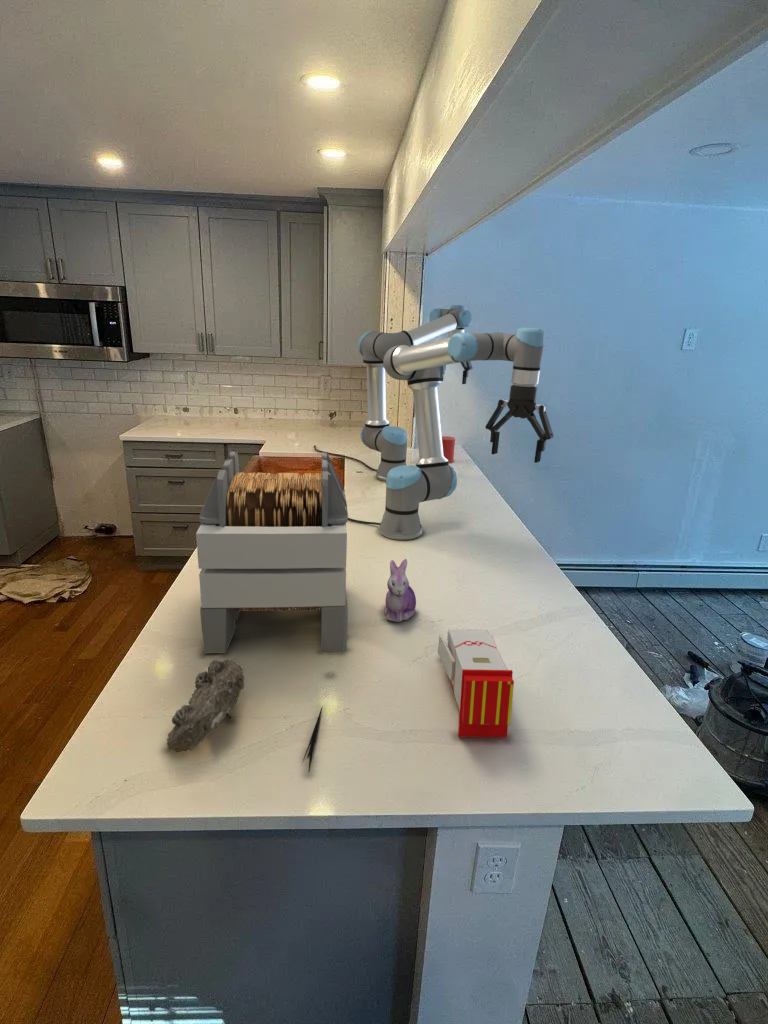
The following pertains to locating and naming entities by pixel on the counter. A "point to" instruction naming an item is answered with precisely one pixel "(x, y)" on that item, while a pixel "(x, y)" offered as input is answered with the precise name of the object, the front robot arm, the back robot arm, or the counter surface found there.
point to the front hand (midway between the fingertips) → (515, 457)
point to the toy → (478, 682)
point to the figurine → (399, 594)
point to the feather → (313, 740)
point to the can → (448, 447)
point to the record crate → (273, 550)
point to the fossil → (206, 705)
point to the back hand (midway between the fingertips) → (452, 382)
